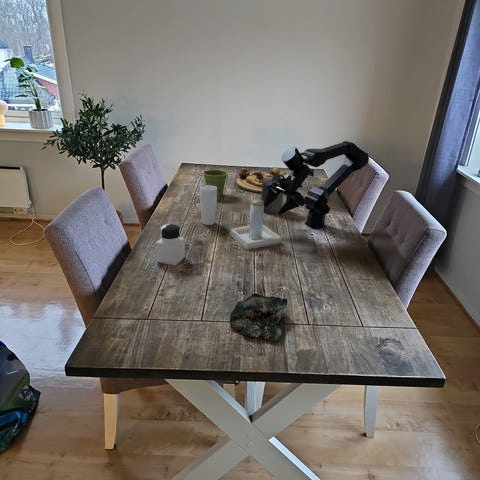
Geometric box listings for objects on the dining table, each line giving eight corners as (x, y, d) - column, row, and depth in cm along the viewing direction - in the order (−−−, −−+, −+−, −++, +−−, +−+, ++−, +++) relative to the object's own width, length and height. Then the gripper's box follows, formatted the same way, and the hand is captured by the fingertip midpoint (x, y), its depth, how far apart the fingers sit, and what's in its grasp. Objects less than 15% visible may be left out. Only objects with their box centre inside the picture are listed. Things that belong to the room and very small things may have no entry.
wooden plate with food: (223, 185, 220) (223, 170, 217) (257, 173, 244) (258, 159, 240) (275, 200, 204) (277, 184, 200) (307, 185, 227) (308, 170, 224)
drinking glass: (214, 227, 168) (214, 190, 162) (197, 225, 169) (197, 189, 163) (218, 221, 174) (219, 185, 168) (202, 219, 175) (202, 184, 169)
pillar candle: (257, 211, 186) (259, 178, 180) (264, 205, 194) (266, 173, 188) (278, 215, 183) (281, 182, 176) (284, 208, 191) (288, 176, 185)
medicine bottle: (185, 257, 143) (184, 224, 138) (175, 266, 137) (174, 231, 132) (166, 253, 145) (165, 220, 140) (156, 262, 139) (154, 228, 134)
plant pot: (232, 194, 206) (232, 172, 202) (218, 200, 197) (218, 177, 193) (212, 190, 212) (212, 167, 207) (197, 195, 203) (197, 172, 198)
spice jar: (261, 234, 161) (263, 199, 155) (261, 240, 156) (264, 203, 151) (248, 234, 161) (250, 198, 155) (248, 239, 156) (251, 203, 150)
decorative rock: (293, 332, 101) (230, 326, 100) (288, 351, 104) (227, 346, 103) (285, 287, 118) (231, 282, 117) (281, 304, 121) (229, 300, 120)
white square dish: (261, 229, 168) (262, 223, 166) (280, 243, 156) (281, 237, 155) (229, 235, 162) (230, 229, 161) (246, 249, 150) (247, 243, 149)
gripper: (270, 159, 161) (245, 191, 160) (302, 170, 147) (274, 206, 146) (285, 176, 168) (261, 207, 167) (317, 189, 154) (290, 223, 153)
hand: (271, 210), depth 158 cm, fingers open, 9 cm apart
